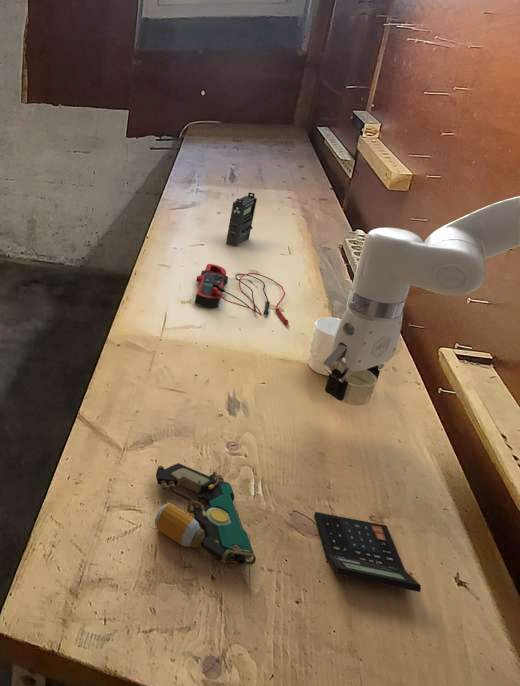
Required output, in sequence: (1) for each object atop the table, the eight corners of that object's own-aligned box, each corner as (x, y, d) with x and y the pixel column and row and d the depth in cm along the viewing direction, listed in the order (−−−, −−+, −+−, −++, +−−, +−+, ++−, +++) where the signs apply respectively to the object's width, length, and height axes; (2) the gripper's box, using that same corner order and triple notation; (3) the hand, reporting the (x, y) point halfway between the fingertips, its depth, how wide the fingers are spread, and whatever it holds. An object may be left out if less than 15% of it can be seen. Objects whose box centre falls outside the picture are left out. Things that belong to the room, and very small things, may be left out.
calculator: (384, 529, 83) (390, 515, 82) (414, 603, 73) (422, 588, 72) (314, 515, 85) (318, 501, 84) (333, 585, 75) (339, 570, 74)
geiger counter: (237, 248, 174) (246, 202, 167) (223, 244, 177) (231, 199, 170) (252, 238, 180) (262, 194, 173) (239, 235, 183) (247, 191, 176)
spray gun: (157, 467, 96) (253, 498, 90) (140, 541, 82) (251, 583, 76) (161, 448, 94) (259, 477, 88) (144, 520, 80) (259, 561, 74)
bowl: (344, 380, 104) (350, 359, 102) (379, 401, 98) (386, 380, 96) (317, 389, 102) (322, 369, 100) (351, 411, 96) (358, 390, 94)
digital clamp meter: (188, 293, 140) (203, 255, 159) (186, 309, 142) (201, 269, 161) (293, 312, 130) (295, 269, 149) (289, 329, 132) (292, 284, 151)
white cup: (342, 359, 121) (354, 319, 116) (351, 381, 114) (365, 340, 109) (301, 354, 123) (311, 314, 118) (308, 375, 116) (319, 334, 112)
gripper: (358, 325, 86) (332, 416, 94) (435, 301, 92) (404, 389, 99) (316, 303, 92) (294, 390, 100) (390, 282, 98) (364, 366, 106)
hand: (349, 389), depth 100 cm, fingers closed on bowl, 6 cm apart
